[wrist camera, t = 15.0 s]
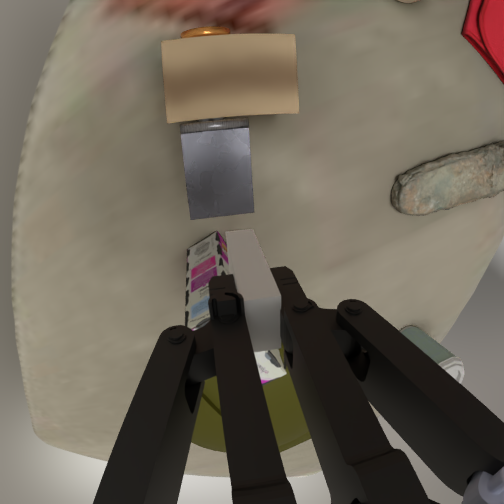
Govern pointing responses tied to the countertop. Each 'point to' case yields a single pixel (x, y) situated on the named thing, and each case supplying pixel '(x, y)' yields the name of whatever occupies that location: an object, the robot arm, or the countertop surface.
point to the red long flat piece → (487, 32)
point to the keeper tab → (217, 167)
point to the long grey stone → (451, 181)
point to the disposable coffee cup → (435, 352)
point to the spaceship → (279, 405)
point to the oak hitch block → (229, 76)
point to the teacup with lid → (408, 1)
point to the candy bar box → (197, 295)
